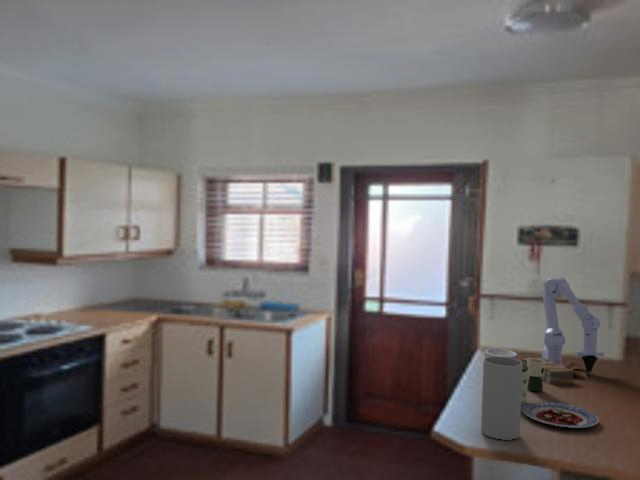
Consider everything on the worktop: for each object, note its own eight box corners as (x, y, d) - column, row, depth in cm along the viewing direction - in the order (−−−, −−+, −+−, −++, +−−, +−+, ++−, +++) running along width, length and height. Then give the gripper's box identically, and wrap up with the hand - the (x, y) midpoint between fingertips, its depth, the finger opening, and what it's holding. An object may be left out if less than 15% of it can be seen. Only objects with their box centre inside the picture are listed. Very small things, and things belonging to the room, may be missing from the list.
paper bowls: (512, 374, 266) (513, 357, 265) (480, 368, 274) (480, 352, 273) (519, 367, 279) (520, 351, 278) (488, 362, 287) (489, 346, 286)
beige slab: (521, 370, 272) (522, 358, 272) (541, 369, 275) (542, 357, 275) (551, 384, 251) (551, 371, 250) (572, 382, 253) (573, 370, 253)
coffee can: (501, 394, 234) (502, 361, 233) (527, 398, 230) (529, 364, 229) (498, 402, 225) (499, 367, 224) (525, 406, 220) (526, 370, 220)
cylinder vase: (483, 424, 199) (485, 354, 198) (520, 430, 194) (523, 359, 193) (478, 437, 188) (481, 363, 187) (518, 444, 183) (521, 368, 182)
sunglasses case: (589, 380, 258) (581, 366, 259) (574, 386, 261) (567, 372, 262) (587, 370, 275) (580, 358, 276) (574, 376, 277) (566, 363, 279)
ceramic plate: (594, 439, 189) (594, 430, 189) (515, 422, 203) (515, 414, 203) (602, 416, 211) (602, 408, 211) (530, 403, 225) (530, 395, 225)
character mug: (543, 395, 235) (544, 364, 234) (525, 392, 237) (526, 362, 237) (544, 388, 245) (545, 358, 244) (526, 385, 247) (528, 356, 247)
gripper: (582, 345, 262) (581, 374, 263) (609, 344, 266) (607, 372, 266) (572, 342, 269) (571, 370, 270) (598, 341, 273) (597, 368, 273)
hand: (588, 371), depth 268 cm, fingers closed
